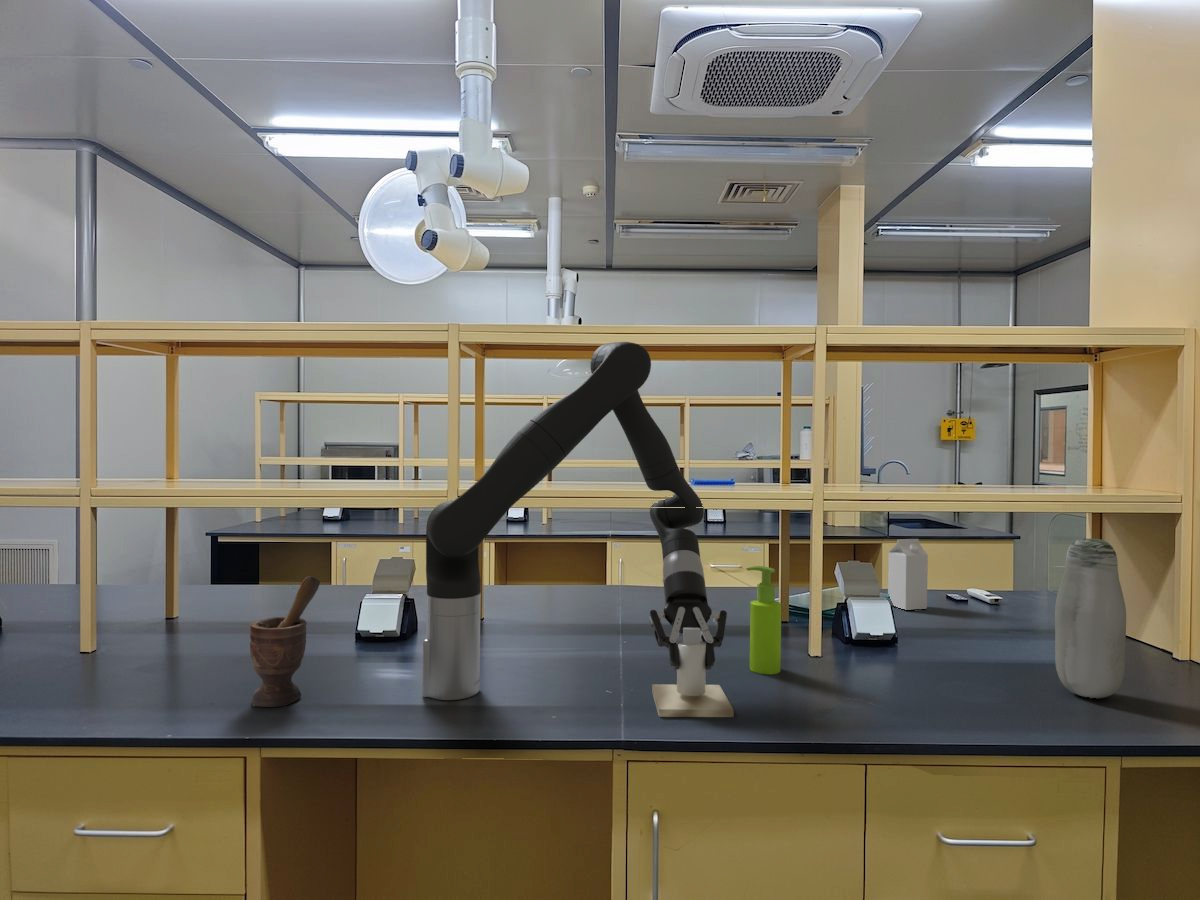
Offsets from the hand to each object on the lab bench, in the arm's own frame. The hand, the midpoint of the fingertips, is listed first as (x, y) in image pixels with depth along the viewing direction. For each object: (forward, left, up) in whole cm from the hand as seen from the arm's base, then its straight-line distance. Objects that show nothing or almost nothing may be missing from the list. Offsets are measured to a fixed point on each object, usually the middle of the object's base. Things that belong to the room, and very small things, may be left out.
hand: (693, 666), depth 118 cm
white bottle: (0, +2, -5) cm, 5 cm away
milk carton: (+71, +76, -7) cm, 104 cm away
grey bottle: (+72, +7, -7) cm, 73 cm away
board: (0, +2, -7) cm, 7 cm away
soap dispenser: (+17, +21, -7) cm, 28 cm away
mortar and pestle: (-69, +4, -7) cm, 70 cm away
